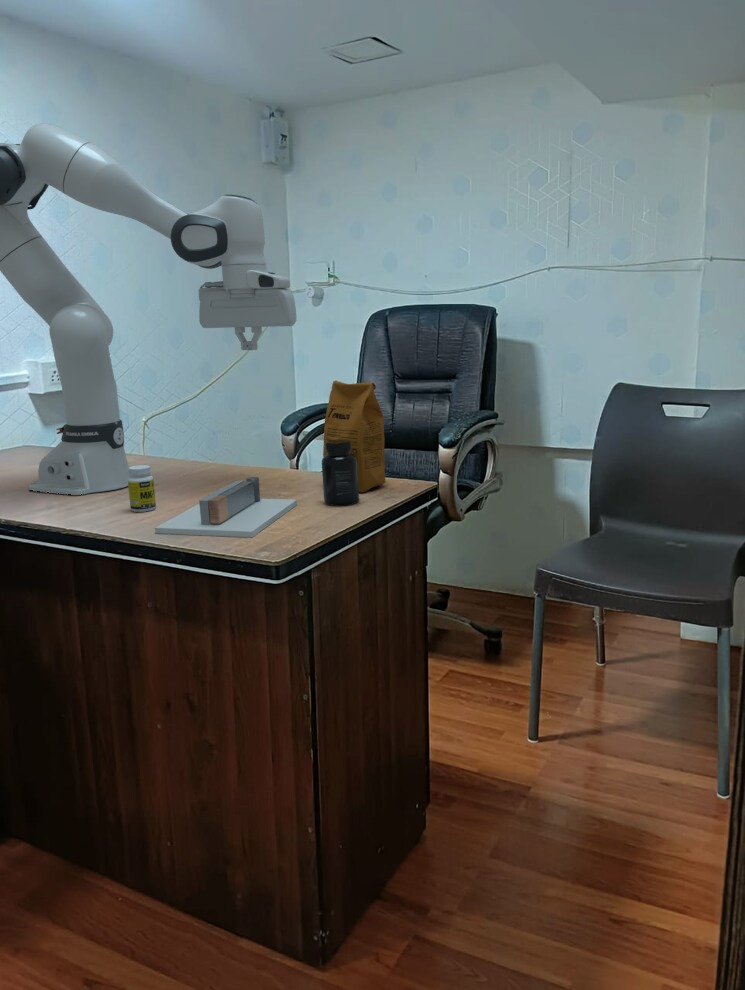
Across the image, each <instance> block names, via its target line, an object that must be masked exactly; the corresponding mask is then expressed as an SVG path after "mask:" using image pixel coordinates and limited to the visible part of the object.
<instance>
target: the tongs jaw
mask: <svg viewBox="0 0 745 990" xmlns="http://www.w3.org/2000/svg"><path fill="white" fill-rule="evenodd" d="M253 502H255V497H254V483H253V481H246V480H244V482H243V483H241V484H239V485H237V486H235V487H233V488H232V489H230V490H228V491H226V492H224V493H222V494H221V495H217V496H216V497H214V498H212V499H210V500H209V509H210V521H211V523H218V524H220V523H221V522H223V521H225V520H226V519H228V518H229V517H231V516H232V515H234V514H236V513H237V512H239V511H241V510H242V509H244V508H245V507H247V506H249V505H250V504H252V503H253Z"/></svg>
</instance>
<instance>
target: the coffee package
mask: <svg viewBox="0 0 745 990" xmlns="http://www.w3.org/2000/svg"><path fill="white" fill-rule="evenodd" d="M376 389H377V386H376V384H375V383H374V382H373V381H372V382H359V383H345V382H342V381H338V380H333V382H332V386H331V390H330V393H329V398H328V402H327V408H326V413H325V419H324V424H323V425H324V426H323V430H324V431H323V432H324V433H323V449H322V451H323V453H322V455H323V457H324V456H325V455H327V452H326V441H330V440H339V439H345V440H350V441H351V451H350V453H351V454H353V455H355V457H356V458H357V470H358V489H359V493H366V492H367V491H369V490H371V489H372V488H375V487H379V486H382V485H384V484H385V483H386V473H385V472H386V466H385V465H386V464H385V454H386V453H385V443H386V441H385V417H384V415H383V412H382V409H381V407H380V403H379V401H378V399H377V397H376V393H375V390H376ZM323 457H322V458H323Z"/></svg>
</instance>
